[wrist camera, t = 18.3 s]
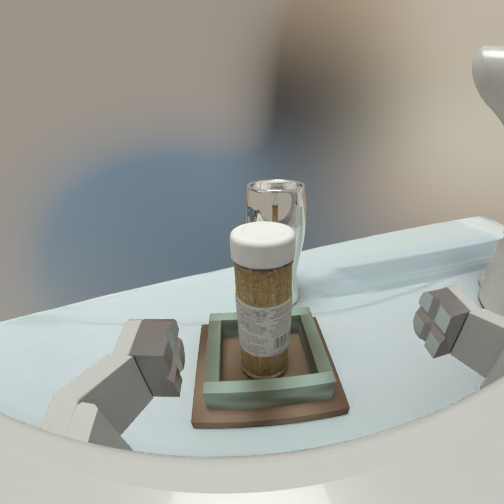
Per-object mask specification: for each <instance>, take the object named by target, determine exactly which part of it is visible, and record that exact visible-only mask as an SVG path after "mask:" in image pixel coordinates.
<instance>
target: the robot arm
mask: <svg viewBox="0 0 504 504" xmlns="http://www.w3.org/2000/svg"><path fill="white" fill-rule="evenodd" d="M472 73H473V79H474V82H475V85H476V88H477V90H478V92H479V94H480V96H481V98H482V99H483V100H484V102H485V103H486V104H487V105H488V106H489V107H490V108H491V109H492V110H493V111H494V113H495V114H496V115H497V116H498V118H499V119H500V120H501V122H502V124H503V125H504V46H481V47H480V48H479V49H478V51H477V52H476V54H475V56H474V59H473V64H472ZM479 283H480V286H481V288H480V291H479V298H480V301H481V303H482V305H483V307H484V308H485V309H484V308H481V309H480V308H479V307H478V306H477V305H476V304H475V303H474V302H473V301H472V300H471V299H470V298H469V297H468V296H467V295H466V294H465V293H464V292H463V291H462V290H461V289H460V288H458V287H457V286H449V287H445V288H443V289H438V290H433V291H428V292H424V293H423V294H422V295H421V297H420V300H419V304H420V308H419V309H418V310H417V312H416V313H415V316H414V320H413V323H414V330H415V333H416V334H417V336H418V337H419V338H420V339H422V340H424V341H425V347H426V349H427V350H428V352H429V353H430V355H431V356H432V357H433V358H436V357H439V356H443V355H446V354H449V353H450V354H451V355H452V356H454V357H455V358H457V359H458V360H460V361H461V362H463V363H464V364H465V365H467V366H468V367H470V368H471V369H473V370H474V371H476V372H477V373H479V374H480V375H481V376H483V377H484V378H485V380H484V381H483V383H482V384H481V385H480V390H479V391H477V392H475V393H473V394H471V395H469V396H467V397H465V398H464V399H462V400H460V401H457V402H455V403H453V404H451V405H449V406H447V407H445V408H443V409H440V410H438V411H436V412H433V413H431V414H429V415H426V416H424V417H421V418H419V419H416V420H414V421H411V422H408V423H405V424H403V425H400V426H397V427H394V428H391V429H388V430H385V431H382V432H378V433H375V434H372V435H368V436H365V437H361V438H357V439H353V440H349V441H345V442H341V443H336V444H332V445H327V446H322V447H316V448H311V449H305V450H298V451H291V452H284V453H275V454H265V455H252V456H232V457H196V456H176V455H163V454H153V453H145V452H137V451H133V450H132V448H131V447H130V446H129V445H128V444H127V442H126V441H125V440H124V439H123V438H122V437H121V436H120V435H121V434H122V433H123V432H124V431H125V430H126V429H127V427H128V426H129V425H130V424H131V423H132V422H133V421H134V419H135V418H136V417H137V416H138V415H139V414H140V413H141V411H142V410H143V409H144V408H145V407H146V406H147V405H148V403H149V402H150V401H151V400H152V399H153V396H157V397H180V390H181V384H182V378H181V375H180V372H181V371H182V370H183V369H184V363H185V353H184V346H183V343H182V340H181V339H180V338H178V337H177V336H178V331H179V328H178V325H177V322H176V320H174V319H144V320H143V319H129V320H128V321H127V322H126V324H125V326H124V328H123V330H122V332H121V335H120V337H119V339H118V342H117V344H116V346H115V349H114V351H113V353H112V355H107V356H105V357H104V358H103V359H101V360H100V361H98V362H97V363H96V364H94V365H93V366H92V367H90V368H89V369H88V370H86V371H85V372H84V373H82V374H81V375H80V376H78V377H77V378H76V379H74V380H73V381H71V382H70V383H69V384H67V385H66V386H65V387H63V388H62V389H61V390H59V391H58V392H57V393H55V394H54V395H53V397H52V400H51V402H50V404H49V406H48V408H47V411H46V413H45V415H44V418H43V420H42V423H41V425H40V428H38V427H36V426H33V425H30V424H28V423H25V422H23V421H20V420H18V419H15V418H13V417H11V416H8V415H6V414H4V413H2V412H0V504H504V238H503V239H500V240H499V241H498V242H497V244H496V247H495V249H494V252H493V255H492V258H491V260H490V263H489V266H488V268H487V271H486V273H485V274H481V276H480V278H479Z"/></svg>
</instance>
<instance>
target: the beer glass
mask: <svg viewBox="0 0 504 504" xmlns="http://www.w3.org/2000/svg"><path fill="white" fill-rule="evenodd" d="M246 212H247V223H251V222H260V221H268V222H277V223H282V224H285V225H287V226H289V227H291V228H292V229H293V230H294V232H295V239H296V243H295V257H294V262H293V264H292V293H293V294H292V305H294V304H295V303H296V302H297V300H298V298H299V292H298V286H297V268H298V263H299V259H300V255H301V250H302V246H303V241H304V234H305V226H306V201H305V185H304V184H303V183H301V182H298V181H293V180H281V179H278V180H277V179H274V180H261V181H255V182H251V183H249V184H248V185H247V211H246Z"/></svg>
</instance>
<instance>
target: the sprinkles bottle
mask: <svg viewBox="0 0 504 504" xmlns="http://www.w3.org/2000/svg"><path fill="white" fill-rule="evenodd" d="M295 243H296V239H295V232H294V230H293V229H292V228H291V227H289V226H287V225H285V224H282V223H277V222H268V221H260V222H251V223H246V224H243V225H240V226H238V227H236V228H235V229H234V230H233V231H232V232H231V234H230V249H231V258H232V259H233V264H234V268H235V280H236V281H235V283H236V293H235V296H236V309H237V320H238V332H239V342H240V345H241V356H242V358H241V367H242V370H243V372H244V373H246V374H247V375H248V376H249V377H251V378H253V379H256V380H259V379H272V378H278V377H280V376H281V375H282V374H284V373H285V371H286V370H287V368H288V361H289V359H288V346H289V343H290V331H291V315H292V294H293V293H292V264H293V262H294V257H295Z"/></svg>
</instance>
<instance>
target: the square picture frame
mask: <svg viewBox="0 0 504 504" xmlns="http://www.w3.org/2000/svg"><path fill="white" fill-rule="evenodd" d="M241 358H242V356H241V345H240V342H239V332H238V320H237V313H216V314H210V318H209V324H208V325H202V328H201V336H200V344H199V352H198V361H197V370H196V379H195V388H194V398H193V409H192V420H191V423H192V425H193V428H241V427H258V426H270V425H280V424H289V423H296V422H304V421H310V420H317V419H322V418H328V417H333V416H338V415H343V414H347V413H348V411H349V408H350V407H349V404H348V401H347V399H346V396H345V393H344V390H343V388H342V385H341V382H340V380H339V377H338V374H337V372H336V369H335V366H334V364H333V361H332V358H331V356H330V353H329V351H328V348H327V345H326V343H325V340H324V338H323V335H322V333H321V330H320V328H319V325H318V323H317V320H316V318H315V317H312V314H311V312H310V309H309V307H304V308H293V309H292V315H291V331H290V343H289V346H288V359H289V361H288V368H287V370H286V371H285V373H284V374H282V375H281V376H280V377H278V378H272V379H259V380H256V379H253V378H251V377H249V376H248V375H247V374H246V373H244V372H243V370H242V367H241Z"/></svg>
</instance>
